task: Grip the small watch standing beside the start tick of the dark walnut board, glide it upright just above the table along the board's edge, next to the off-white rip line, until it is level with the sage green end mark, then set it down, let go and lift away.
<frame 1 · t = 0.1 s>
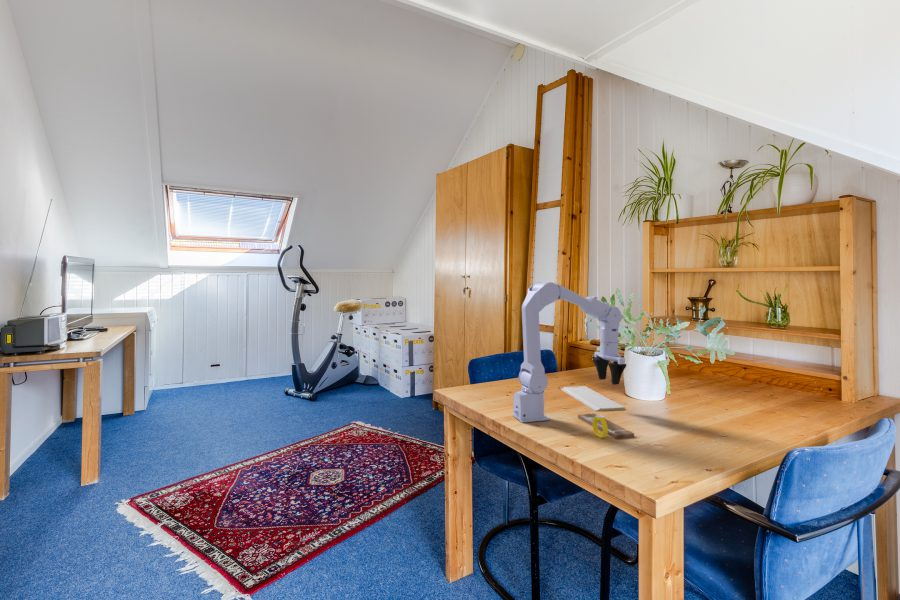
hand: (608, 381, 153), 10 cm above the table, tool pointing down, fingers open, 7 cm apart
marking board: (604, 426, 137), on the table
baseboard molding: (588, 400, 169), on the table
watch: (599, 437, 129), on the table
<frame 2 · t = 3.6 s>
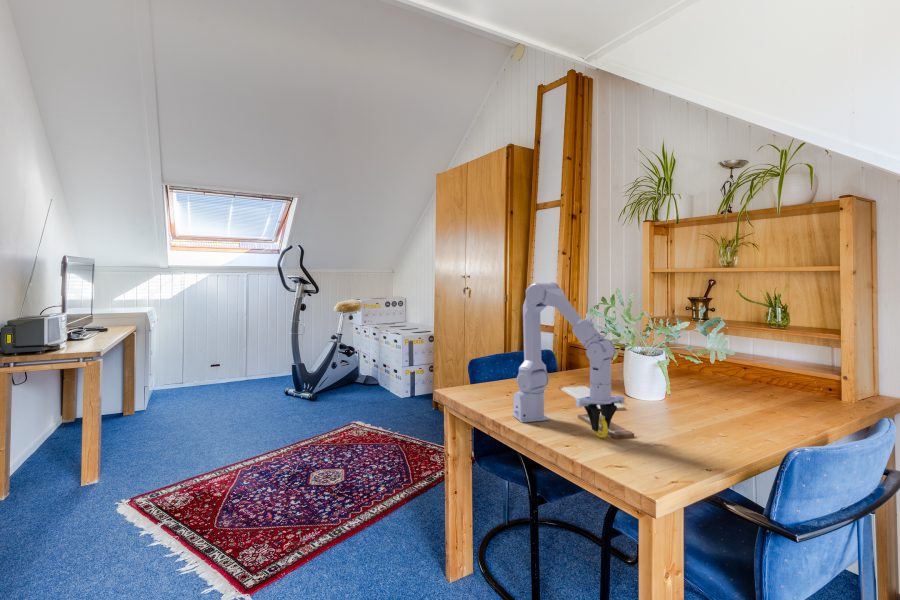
hand: (600, 429, 129), 2 cm above the table, tool pointing down, fingers closed on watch, 3 cm apart
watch: (600, 437, 129), on the table, touching gripper
everything else where it was.
when the fingers open (2 cm above the table, at t = 9.5 s): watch stays where it is, on the table.
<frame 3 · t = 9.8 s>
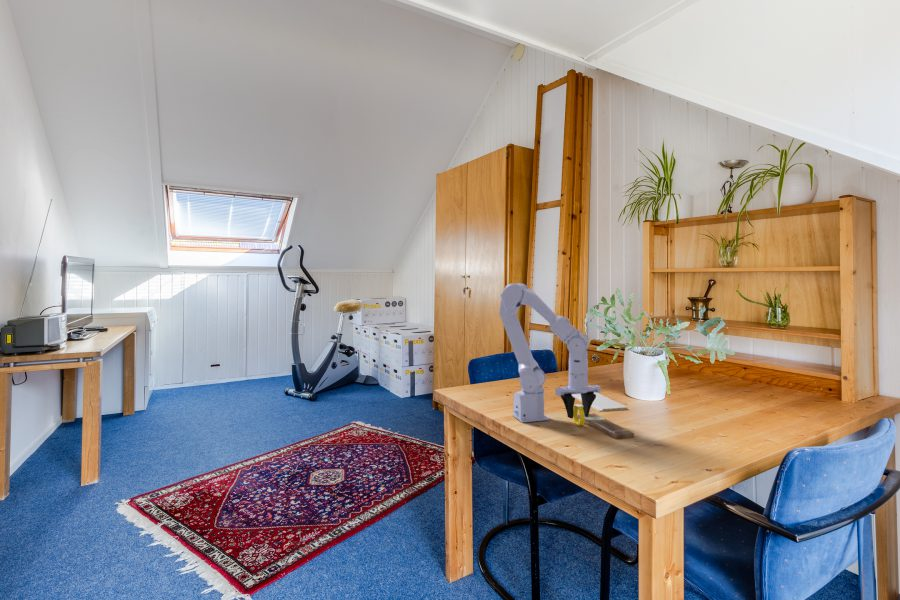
hand: (577, 416, 140), 2 cm above the table, tool pointing down, fingers open, 5 cm apart
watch: (578, 424, 140), on the table
everything else where it was.
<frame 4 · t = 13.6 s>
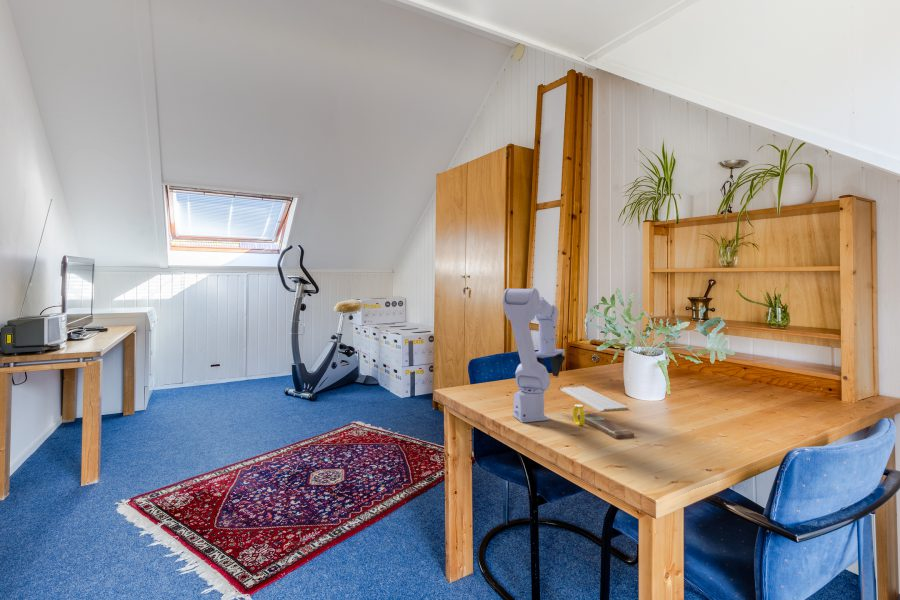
hand: (547, 377, 159), 10 cm above the table, tool pointing down, fingers open, 7 cm apart
nothing on the table moved.
at the end: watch 0.4 cm from the target spot, on the table; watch tilted 0°; the gripper is holding nothing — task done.
